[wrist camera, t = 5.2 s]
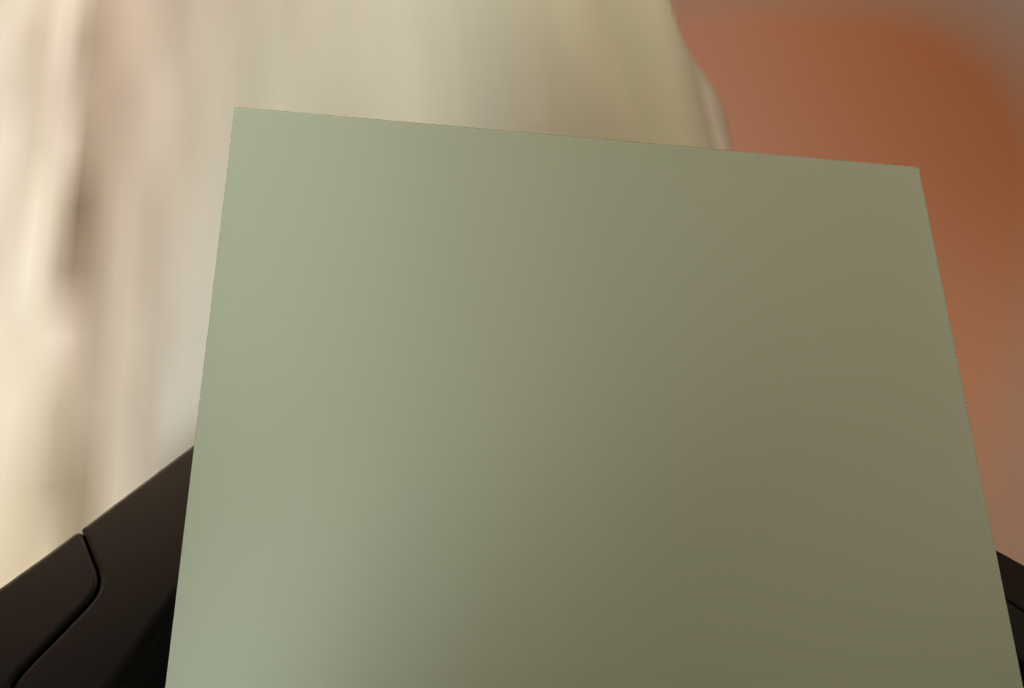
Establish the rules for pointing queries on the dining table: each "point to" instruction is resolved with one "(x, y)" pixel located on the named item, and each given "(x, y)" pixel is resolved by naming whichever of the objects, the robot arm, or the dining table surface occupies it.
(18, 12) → the dining table surface
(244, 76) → the dining table surface
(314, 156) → the sage block
